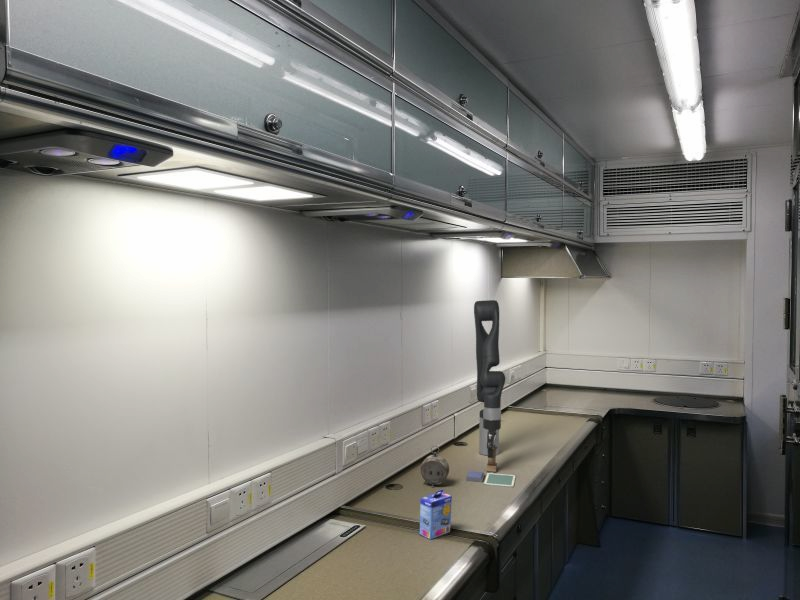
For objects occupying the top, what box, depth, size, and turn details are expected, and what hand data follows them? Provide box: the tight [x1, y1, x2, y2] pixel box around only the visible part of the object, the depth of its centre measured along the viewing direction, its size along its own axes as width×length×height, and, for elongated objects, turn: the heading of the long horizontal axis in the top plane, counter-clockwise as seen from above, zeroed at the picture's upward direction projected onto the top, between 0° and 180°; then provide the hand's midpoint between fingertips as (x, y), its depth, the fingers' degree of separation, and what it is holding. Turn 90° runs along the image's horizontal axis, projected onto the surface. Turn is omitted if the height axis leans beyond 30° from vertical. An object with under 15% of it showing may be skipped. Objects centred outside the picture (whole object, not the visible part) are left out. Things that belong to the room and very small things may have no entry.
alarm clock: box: [420, 445, 450, 488], centre depth 250 cm, size 11×5×16 cm, turn 74°
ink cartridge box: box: [419, 488, 453, 541], centre depth 203 cm, size 10×6×14 cm, turn 135°
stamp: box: [486, 445, 498, 474], centre depth 272 cm, size 6×4×10 cm
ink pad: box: [465, 470, 485, 483], centre depth 261 cm, size 8×6×2 cm
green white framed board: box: [483, 472, 516, 488], centre depth 259 cm, size 15×12×1 cm
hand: (491, 455), depth 271 cm, fingers open, 8 cm apart
